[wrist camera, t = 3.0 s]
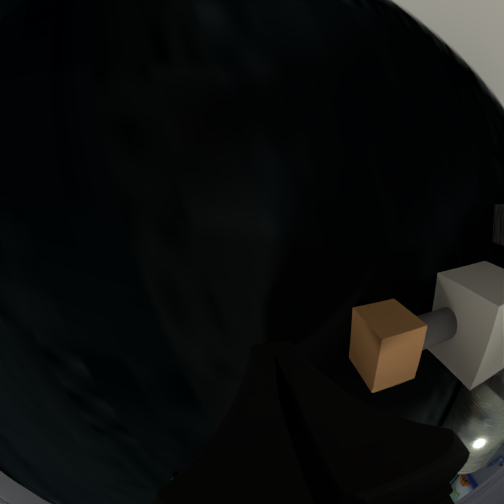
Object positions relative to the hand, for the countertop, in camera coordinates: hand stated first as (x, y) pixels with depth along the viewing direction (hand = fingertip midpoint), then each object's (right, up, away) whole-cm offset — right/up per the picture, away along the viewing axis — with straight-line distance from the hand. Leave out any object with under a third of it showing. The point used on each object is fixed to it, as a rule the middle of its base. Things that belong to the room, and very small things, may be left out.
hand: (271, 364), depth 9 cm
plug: (+8, +1, +1) cm, 8 cm away
